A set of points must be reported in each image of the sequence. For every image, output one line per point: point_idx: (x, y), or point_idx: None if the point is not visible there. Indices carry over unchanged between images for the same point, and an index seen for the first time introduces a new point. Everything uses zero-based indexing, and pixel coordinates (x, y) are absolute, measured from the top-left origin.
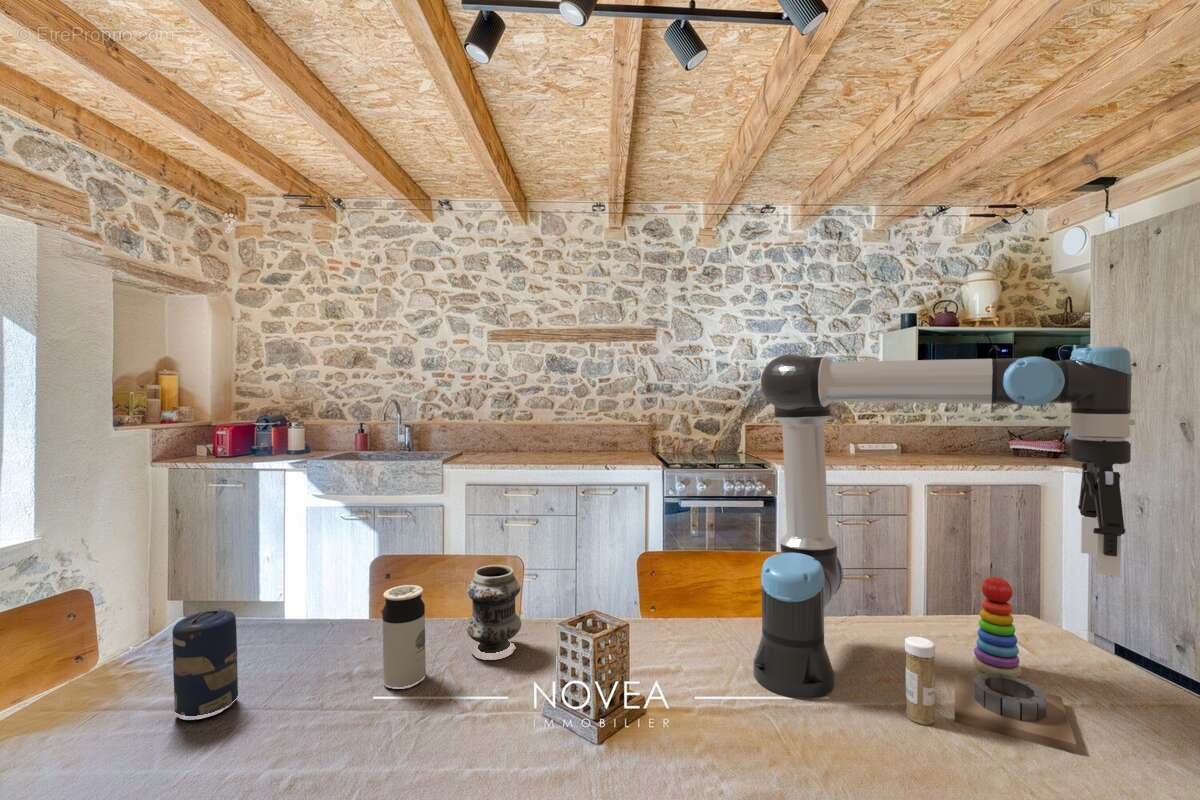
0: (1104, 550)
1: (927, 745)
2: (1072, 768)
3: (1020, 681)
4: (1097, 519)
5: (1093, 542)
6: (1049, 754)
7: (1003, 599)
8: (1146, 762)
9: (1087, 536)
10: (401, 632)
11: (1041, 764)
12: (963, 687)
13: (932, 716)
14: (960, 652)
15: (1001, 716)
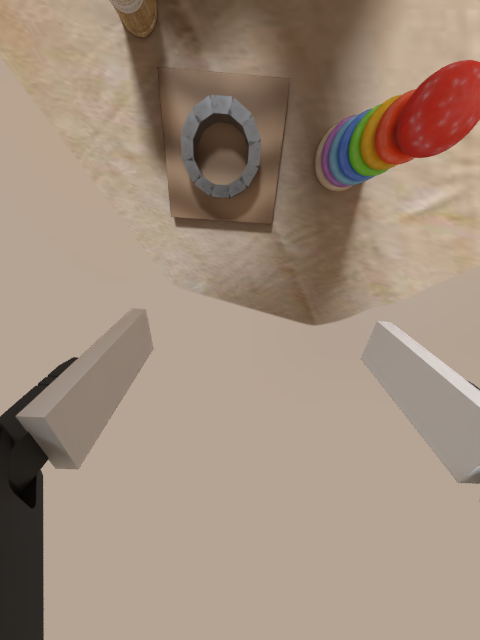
0: (64, 369)
1: (72, 22)
2: (145, 207)
3: (247, 171)
4: (461, 469)
5: (389, 370)
6: (157, 190)
7: (397, 134)
8: (195, 269)
9: (410, 371)
10: None
11: (132, 178)
12: (243, 90)
13: (125, 23)
14: None
15: None
